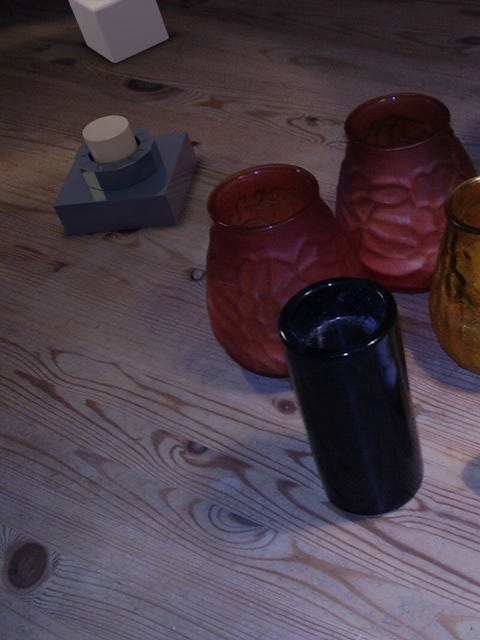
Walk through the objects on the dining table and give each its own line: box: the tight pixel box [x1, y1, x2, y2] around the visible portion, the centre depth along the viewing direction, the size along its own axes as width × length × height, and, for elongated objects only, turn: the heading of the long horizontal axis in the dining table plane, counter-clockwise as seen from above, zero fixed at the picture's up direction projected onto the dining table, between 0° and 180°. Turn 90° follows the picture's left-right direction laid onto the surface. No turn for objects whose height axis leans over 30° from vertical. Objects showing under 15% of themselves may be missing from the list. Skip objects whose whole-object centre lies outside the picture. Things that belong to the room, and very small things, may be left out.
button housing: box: [52, 126, 198, 236], centre depth 91 cm, size 10×10×6 cm
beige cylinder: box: [82, 114, 138, 164], centre depth 88 cm, size 4×4×3 cm
